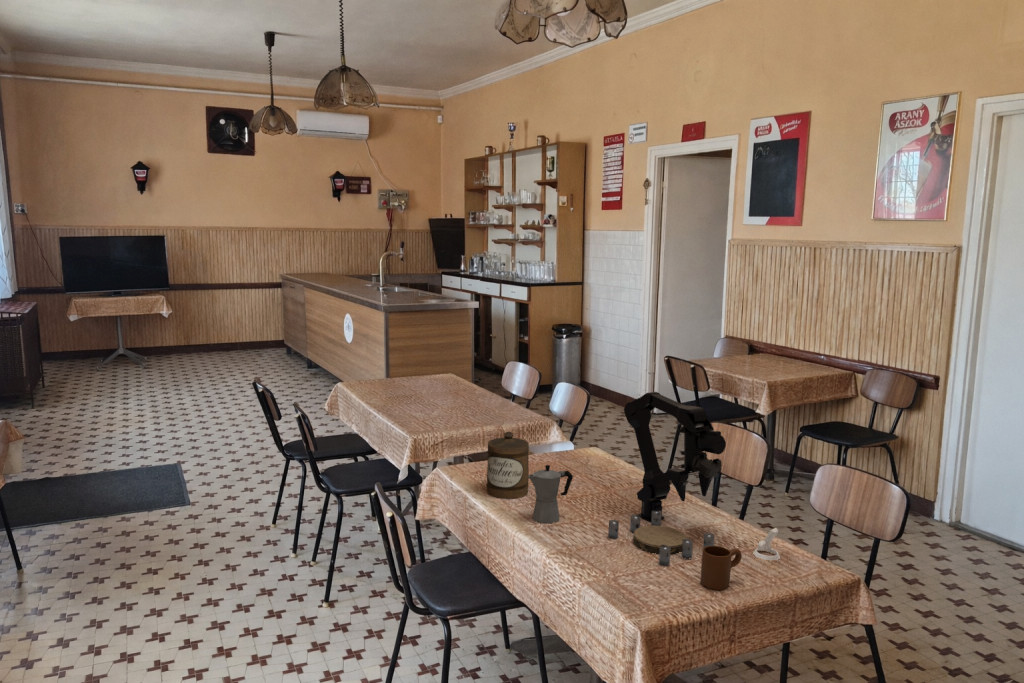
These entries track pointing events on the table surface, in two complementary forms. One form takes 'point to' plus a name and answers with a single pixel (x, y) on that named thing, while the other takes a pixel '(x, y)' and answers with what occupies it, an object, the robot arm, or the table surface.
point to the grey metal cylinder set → (664, 549)
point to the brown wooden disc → (658, 538)
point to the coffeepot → (548, 493)
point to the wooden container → (508, 467)
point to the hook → (767, 546)
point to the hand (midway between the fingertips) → (693, 498)
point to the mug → (718, 566)
